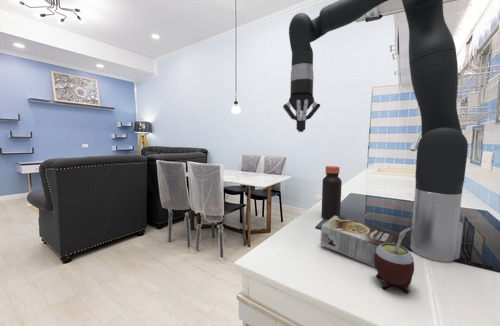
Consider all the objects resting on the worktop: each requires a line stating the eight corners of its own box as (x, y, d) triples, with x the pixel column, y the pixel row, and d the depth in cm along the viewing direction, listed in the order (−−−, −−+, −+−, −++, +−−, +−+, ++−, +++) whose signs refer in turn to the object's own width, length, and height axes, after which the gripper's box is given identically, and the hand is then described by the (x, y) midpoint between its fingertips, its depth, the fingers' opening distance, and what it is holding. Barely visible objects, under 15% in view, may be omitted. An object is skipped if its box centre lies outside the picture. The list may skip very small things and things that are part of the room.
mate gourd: (383, 270, 51) (387, 208, 49) (423, 290, 44) (430, 219, 43) (364, 281, 47) (368, 214, 46) (405, 305, 41) (412, 227, 39)
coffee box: (334, 214, 67) (397, 232, 56) (333, 233, 68) (394, 255, 57) (321, 224, 60) (388, 247, 49) (319, 245, 62) (385, 272, 51)
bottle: (343, 219, 83) (346, 167, 81) (331, 222, 80) (334, 168, 78) (329, 213, 89) (331, 165, 87) (317, 217, 86) (319, 166, 84)
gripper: (318, 82, 78) (317, 132, 80) (281, 83, 79) (280, 132, 81) (324, 77, 70) (322, 131, 72) (283, 77, 71) (282, 131, 73)
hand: (300, 131), depth 77 cm, fingers closed
